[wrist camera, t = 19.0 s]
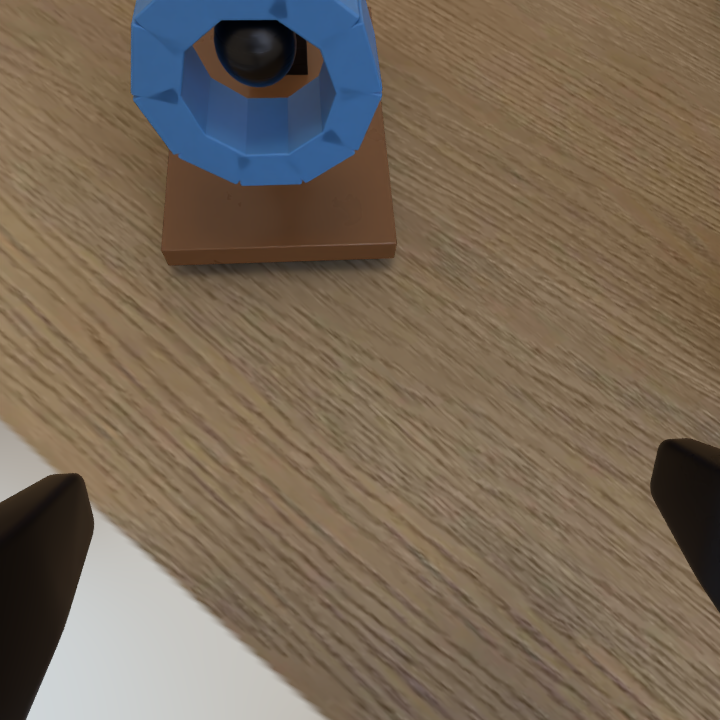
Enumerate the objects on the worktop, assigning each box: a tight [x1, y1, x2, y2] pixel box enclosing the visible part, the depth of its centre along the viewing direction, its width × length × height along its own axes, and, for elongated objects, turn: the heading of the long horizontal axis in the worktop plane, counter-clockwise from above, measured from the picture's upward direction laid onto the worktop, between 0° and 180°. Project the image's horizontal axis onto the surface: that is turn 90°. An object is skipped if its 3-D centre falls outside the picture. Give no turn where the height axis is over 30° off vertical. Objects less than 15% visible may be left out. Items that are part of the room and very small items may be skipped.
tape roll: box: [131, 0, 382, 186], centre depth 17 cm, size 3×8×7 cm, turn 94°
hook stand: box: [161, 7, 397, 265], centre depth 22 cm, size 15×10×11 cm, turn 4°
